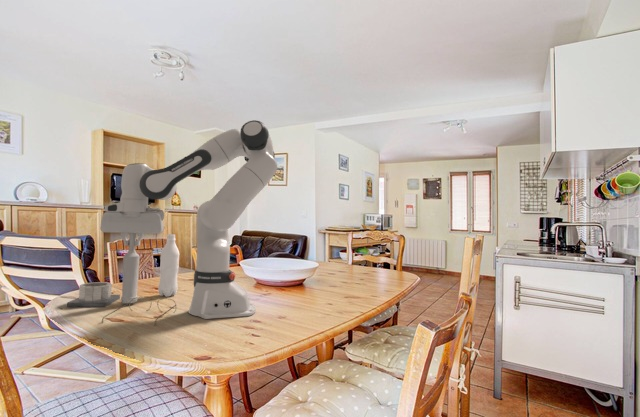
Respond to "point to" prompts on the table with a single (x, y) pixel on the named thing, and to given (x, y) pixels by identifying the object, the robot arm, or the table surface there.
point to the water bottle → (169, 268)
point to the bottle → (130, 272)
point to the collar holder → (94, 295)
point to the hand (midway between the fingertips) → (132, 245)
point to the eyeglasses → (146, 310)
